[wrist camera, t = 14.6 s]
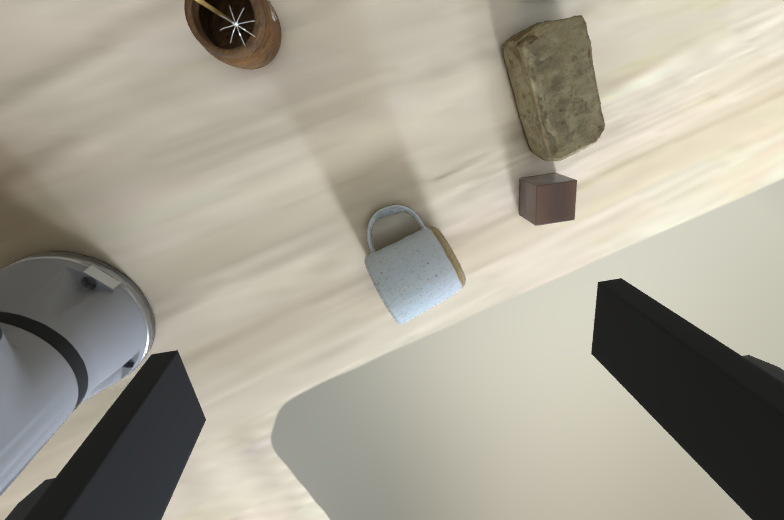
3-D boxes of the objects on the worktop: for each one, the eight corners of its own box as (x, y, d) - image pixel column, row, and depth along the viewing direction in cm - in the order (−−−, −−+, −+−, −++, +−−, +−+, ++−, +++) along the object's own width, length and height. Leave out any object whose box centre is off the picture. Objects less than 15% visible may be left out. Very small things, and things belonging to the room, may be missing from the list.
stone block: (529, 160, 40) (553, 167, 35) (494, 43, 35) (516, 34, 31) (582, 135, 39) (614, 139, 35) (554, 14, 35) (585, 0, 30)
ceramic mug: (458, 268, 43) (479, 299, 36) (394, 303, 44) (402, 340, 37) (415, 186, 40) (429, 203, 32) (346, 225, 40) (344, 250, 33)
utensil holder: (266, 84, 35) (228, 76, 24) (196, 43, 33) (119, 13, 22) (295, 18, 33) (268, -24, 22) (222, -29, 31) (153, -101, 20)
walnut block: (519, 215, 42) (535, 226, 38) (519, 178, 40) (536, 185, 37) (554, 209, 42) (574, 220, 38) (556, 172, 40) (577, 179, 37)
